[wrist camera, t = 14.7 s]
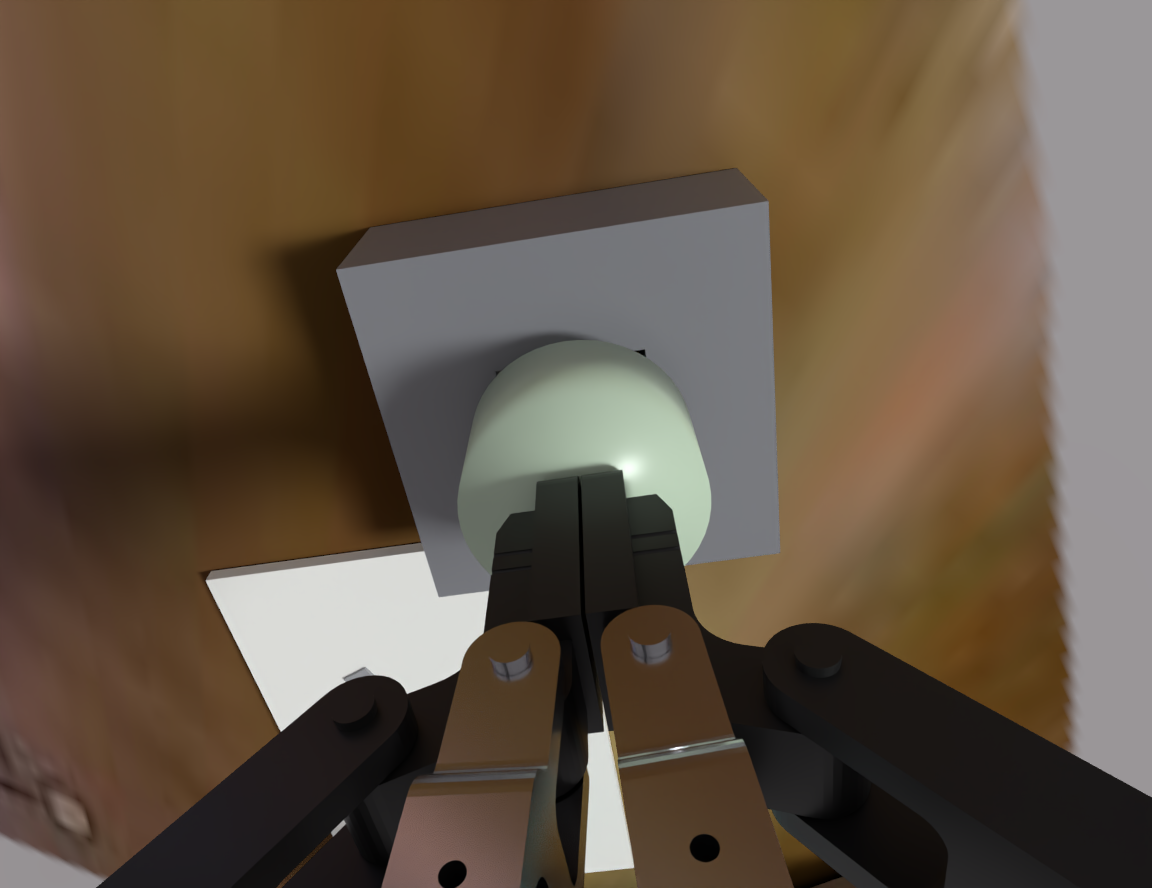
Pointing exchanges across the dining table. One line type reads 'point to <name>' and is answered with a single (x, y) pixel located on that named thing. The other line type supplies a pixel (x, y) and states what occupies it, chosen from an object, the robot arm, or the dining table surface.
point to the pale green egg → (580, 438)
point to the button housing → (576, 335)
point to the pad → (379, 648)
